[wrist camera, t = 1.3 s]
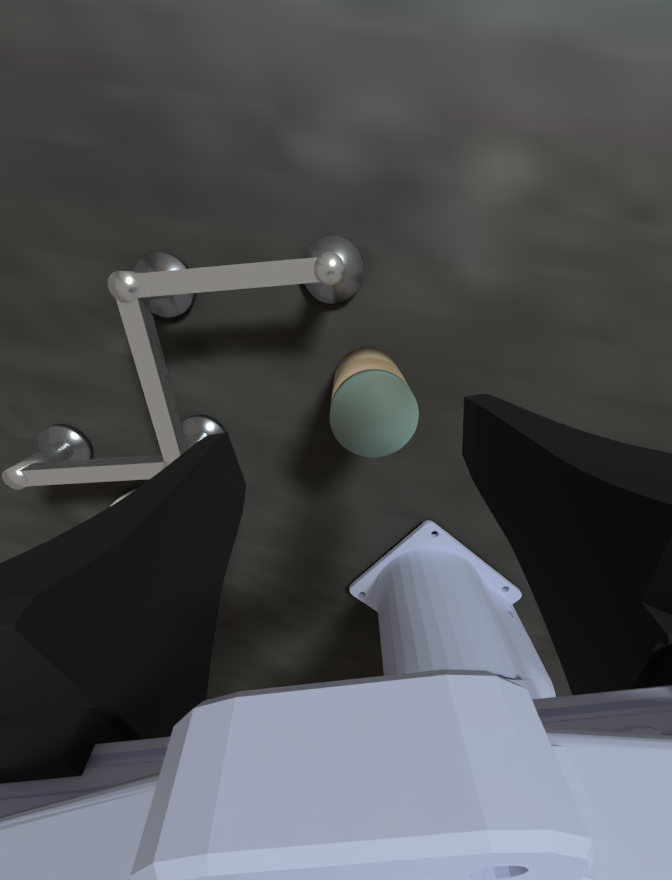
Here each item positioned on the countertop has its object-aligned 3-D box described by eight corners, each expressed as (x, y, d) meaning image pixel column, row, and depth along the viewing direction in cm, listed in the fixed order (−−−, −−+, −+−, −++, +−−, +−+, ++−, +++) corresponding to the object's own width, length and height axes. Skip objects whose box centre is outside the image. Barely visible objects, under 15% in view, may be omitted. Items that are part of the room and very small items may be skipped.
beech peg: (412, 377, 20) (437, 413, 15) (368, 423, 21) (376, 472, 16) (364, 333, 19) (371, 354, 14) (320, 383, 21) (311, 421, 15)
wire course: (375, 267, 18) (383, 264, 14) (162, 528, 25) (131, 571, 21) (223, 118, 16) (186, 70, 12) (35, 449, 23) (-25, 482, 19)
